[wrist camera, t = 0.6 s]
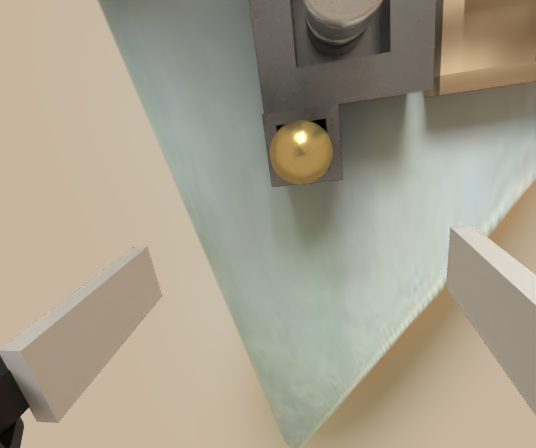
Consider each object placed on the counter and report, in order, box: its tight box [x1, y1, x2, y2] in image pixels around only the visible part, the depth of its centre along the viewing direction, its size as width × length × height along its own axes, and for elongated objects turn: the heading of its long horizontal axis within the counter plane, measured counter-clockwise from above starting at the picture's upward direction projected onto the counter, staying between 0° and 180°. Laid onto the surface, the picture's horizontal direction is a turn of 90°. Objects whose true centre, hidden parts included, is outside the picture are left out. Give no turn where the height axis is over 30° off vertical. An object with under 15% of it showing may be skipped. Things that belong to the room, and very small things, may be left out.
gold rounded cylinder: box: [270, 120, 333, 184], centre depth 24 cm, size 4×4×7 cm
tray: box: [424, 0, 536, 97], centre depth 25 cm, size 10×10×4 cm
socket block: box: [249, 0, 436, 187], centre depth 26 cm, size 19×13×8 cm
